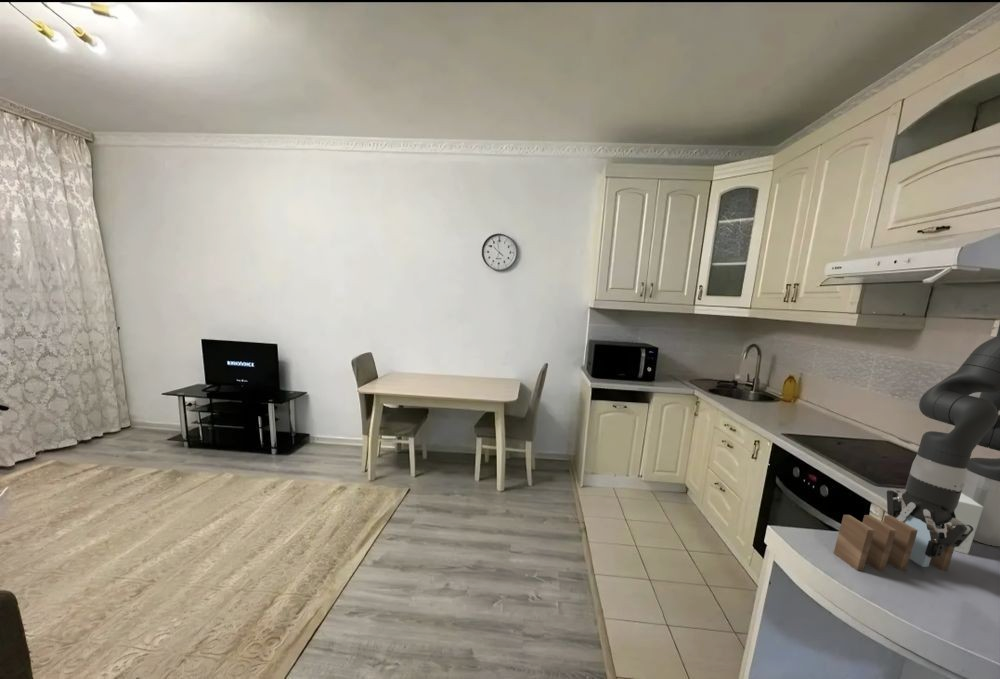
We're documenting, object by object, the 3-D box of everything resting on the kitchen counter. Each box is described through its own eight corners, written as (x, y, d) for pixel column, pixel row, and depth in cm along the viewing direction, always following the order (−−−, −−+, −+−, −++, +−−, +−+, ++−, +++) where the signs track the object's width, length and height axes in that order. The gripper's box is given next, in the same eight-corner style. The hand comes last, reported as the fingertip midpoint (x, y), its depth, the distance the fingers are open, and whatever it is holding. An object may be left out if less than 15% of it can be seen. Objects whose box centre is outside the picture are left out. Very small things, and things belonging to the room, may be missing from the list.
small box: (912, 526, 96) (925, 482, 94) (945, 535, 93) (959, 490, 91) (933, 545, 88) (947, 498, 86) (969, 555, 86) (985, 506, 84)
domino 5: (919, 553, 85) (930, 515, 83) (947, 569, 80) (960, 530, 78) (913, 553, 85) (925, 515, 83) (941, 569, 80) (953, 530, 78)
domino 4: (901, 550, 84) (912, 512, 82) (928, 566, 79) (940, 526, 78) (895, 550, 84) (906, 512, 82) (922, 566, 79) (934, 526, 77)
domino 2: (859, 553, 83) (870, 515, 82) (884, 570, 78) (896, 530, 77) (853, 553, 83) (864, 515, 81) (878, 570, 78) (889, 530, 76)
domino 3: (880, 553, 84) (890, 515, 82) (905, 570, 79) (917, 530, 77) (874, 553, 84) (884, 515, 82) (899, 570, 79) (911, 530, 77)
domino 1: (839, 553, 82) (849, 514, 81) (863, 570, 78) (874, 529, 76) (833, 553, 82) (843, 514, 81) (856, 570, 77) (868, 529, 76)
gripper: (883, 462, 85) (866, 525, 88) (966, 498, 71) (943, 572, 74) (909, 463, 86) (891, 526, 88) (997, 499, 72) (972, 572, 74)
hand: (915, 546), depth 81 cm, fingers closed on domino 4, 5 cm apart
